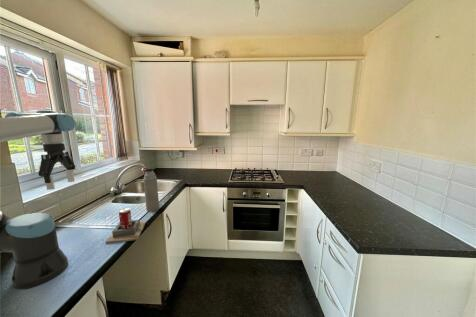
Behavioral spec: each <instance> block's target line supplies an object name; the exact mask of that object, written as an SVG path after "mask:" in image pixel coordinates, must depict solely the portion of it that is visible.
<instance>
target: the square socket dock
mask: <svg viewBox="0 0 476 317" xmlns="http://www.w3.org/2000/svg"><path fill="white" fill-rule="evenodd" d="M131 220H132V219H131ZM145 225H146V221H141V220H140V219H134V220H132V228H129V229H121V225H120V221H119V223H117V225H116V226H115V228H113V230H112V231H111V232H112V233H111V234H110V235H109V236H108V238H107V239H106V240H105V244H113V243H112V242H115V243H121V242H120V241H124V242H129V241H132V242H133V241H138V239H139V237H140V235H141V234H142V231H143V229H144V228H145Z"/></svg>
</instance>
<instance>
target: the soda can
mask: <svg viewBox="0 0 476 317" xmlns="http://www.w3.org/2000/svg"><path fill="white" fill-rule="evenodd" d="M131 211H132V210H130V207H129V208H128V207H124V208H121V209H120V210H119V212H118V216H119V222H120V225H121V229H129V228H132V213H131Z"/></svg>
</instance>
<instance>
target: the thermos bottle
mask: <svg viewBox="0 0 476 317" xmlns="http://www.w3.org/2000/svg"><path fill="white" fill-rule="evenodd" d="M143 188H144V196H145V198H144V199H145V207H146V208H145V209H146V211H147V212H149V211H152V212H156V211H158V210H159V209H160V202H159V190H158V189H159V188H158V177H157V175H156V173H155V172H154V168H146V169H145V174H144V176H143Z"/></svg>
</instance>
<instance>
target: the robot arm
mask: <svg viewBox="0 0 476 317" xmlns="http://www.w3.org/2000/svg"><path fill="white" fill-rule="evenodd" d="M75 127H76V121H75V119H74V117H73V116H72V115H71V114H69V113H62V112H60V113H59V112H57V111H56V110H48V109H46V110H45V109H44V110H43V109H42V110H41V109H40V110H36V111H35V112H33V113H31V112H30V113H29V112H28V113H27V112H21V111H20V112H9V113H7V114H6V115H5V116H4V117H0V143H4V142H8V141H14V140H20V139H24V138H29V137H35V136H40V137H41V142H42V144H43V145H42V149H43V151H44V152H45V153H46V154H41V155H40V159H41V161H40V165H39V170H38V176H39V177H42V178H43V179H44V183H45V187H46V190H50V191H51V190H56V188H55V183H54V182H55V181H54V178H53V177H54V176H53V175H51V174H52V173H53V169H54V167H55V165H56V164H57V163H60V164H61V165H62V166H63V167H64V168H65V169H66V170H65V172H66V173H65V174H66V178H67V182H68V183H74V182H75V176H74V170H75V169H76V165H75V163H74V161H73V160H72V158H71V156H70V154H69V151H66V146H65V143H64V142H65V140H64V135H63V132H70V131H71V132H72V131H73V130H74V129H75ZM56 228H57V227H56V223H55V221H54V218H53V216H52V215H51V214H49V213H45V212H33V213H25V214H20V215H18V216H15V217H13V218H10V217H9V216H8V215H6V214H5V213H3V212H2V211H0V253H12V255H13V259H14V267H13V271H12V276H11V283H12V287H13V288H15V289H17V290H26V289H30V288H34V287H37V286H40V285H42V284H43V285H44V284H45V283H47V282H49V281H50V280H52V279H54V278H56V277H57V276H60V274H61V273H62V272H64V271H65V269H66V268H67V267H68V265H69V261H68V257H67V255H66V254H65V253H64V252H63V251H62V249H61V248H60V245H59V241H58V234H57V229H56Z"/></svg>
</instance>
